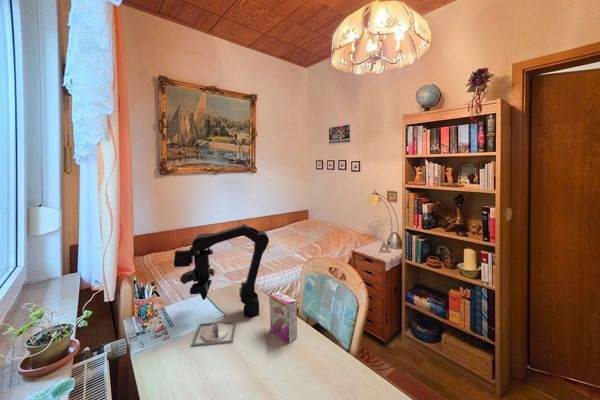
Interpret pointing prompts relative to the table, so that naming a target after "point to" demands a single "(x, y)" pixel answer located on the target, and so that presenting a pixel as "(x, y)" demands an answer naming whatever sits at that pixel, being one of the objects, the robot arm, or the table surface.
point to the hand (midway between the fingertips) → (204, 299)
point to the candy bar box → (283, 316)
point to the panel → (215, 341)
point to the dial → (215, 332)
